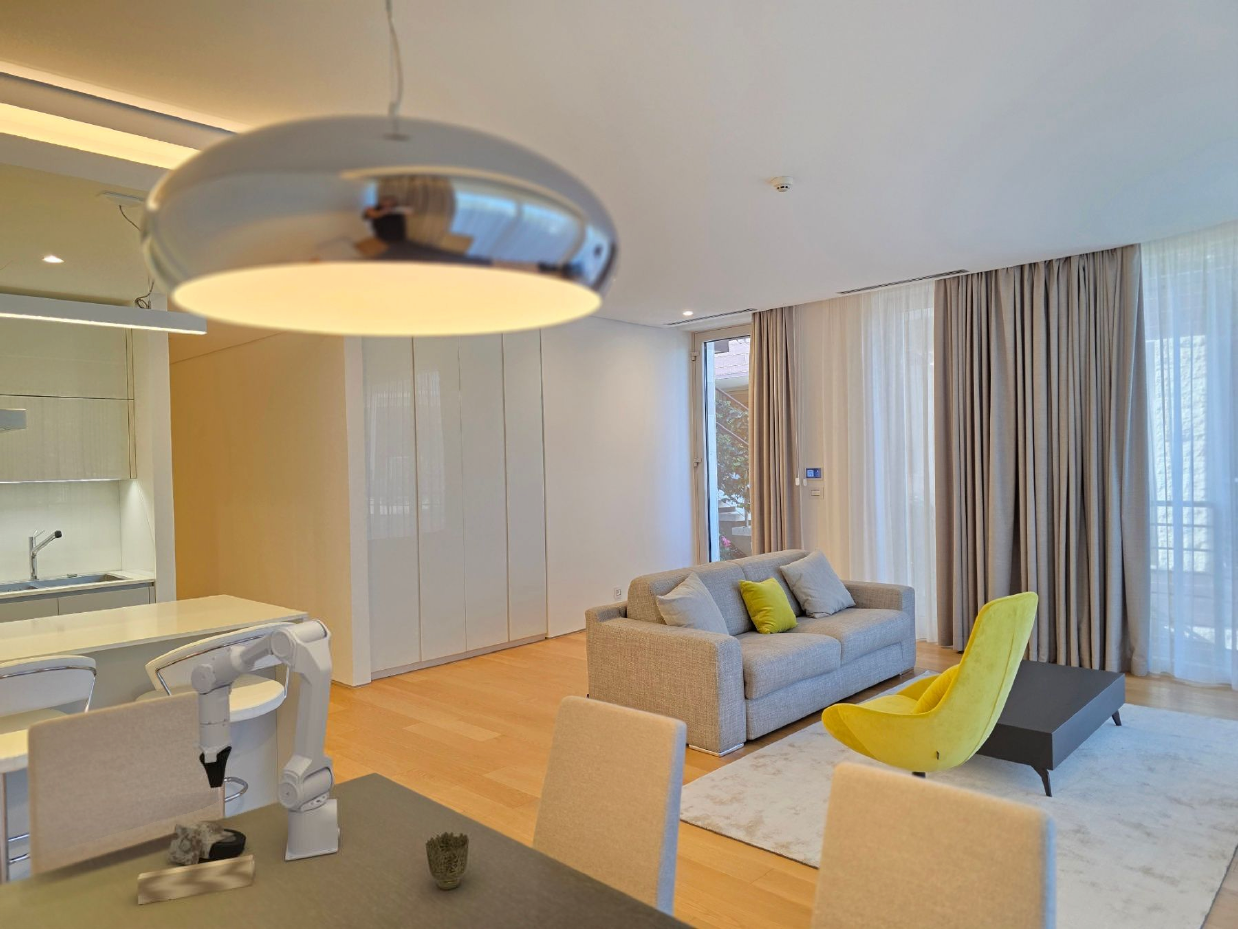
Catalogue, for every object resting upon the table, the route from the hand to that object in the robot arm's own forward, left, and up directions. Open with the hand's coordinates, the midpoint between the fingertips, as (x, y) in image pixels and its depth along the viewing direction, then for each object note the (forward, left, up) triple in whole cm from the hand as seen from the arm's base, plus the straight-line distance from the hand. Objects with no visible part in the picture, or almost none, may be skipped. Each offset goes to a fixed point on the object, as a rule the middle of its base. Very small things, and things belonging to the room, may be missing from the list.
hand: (216, 786), depth 169 cm
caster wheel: (0, +11, -10) cm, 15 cm away
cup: (-42, +41, -10) cm, 59 cm away
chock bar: (0, +25, -9) cm, 27 cm away
